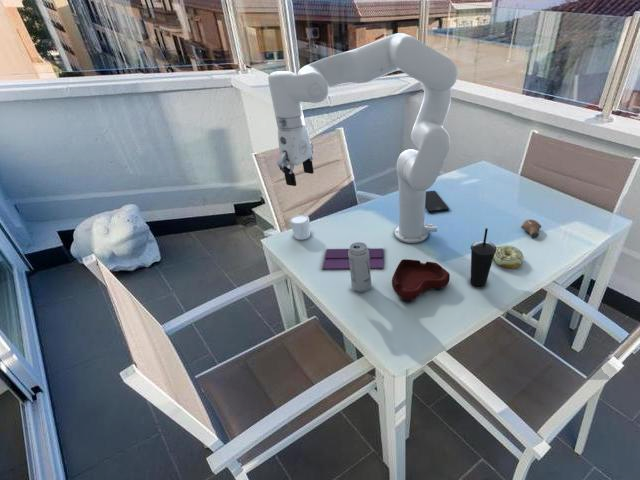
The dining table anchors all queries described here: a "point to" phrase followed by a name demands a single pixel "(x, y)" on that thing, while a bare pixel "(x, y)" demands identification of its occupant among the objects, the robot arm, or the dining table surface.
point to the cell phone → (434, 202)
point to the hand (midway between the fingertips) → (300, 178)
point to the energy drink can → (359, 267)
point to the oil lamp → (531, 227)
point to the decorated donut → (508, 256)
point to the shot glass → (300, 226)
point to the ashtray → (418, 278)
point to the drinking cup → (481, 261)
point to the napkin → (341, 259)
